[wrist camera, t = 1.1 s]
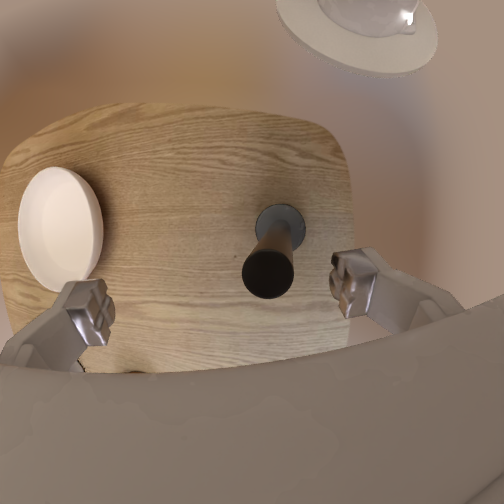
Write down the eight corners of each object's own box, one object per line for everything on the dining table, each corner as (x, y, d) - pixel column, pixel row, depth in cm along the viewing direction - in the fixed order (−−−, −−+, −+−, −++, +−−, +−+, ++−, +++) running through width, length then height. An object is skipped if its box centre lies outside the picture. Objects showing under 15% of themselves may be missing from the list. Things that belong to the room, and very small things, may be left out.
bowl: (30, 205, 41) (8, 207, 35) (93, 145, 38) (68, 140, 32) (65, 297, 43) (44, 307, 37) (136, 255, 40) (114, 264, 34)
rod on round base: (269, 196, 36) (235, 186, 12) (312, 216, 36) (355, 245, 12) (250, 237, 37) (186, 300, 14) (291, 257, 37) (295, 351, 13)
